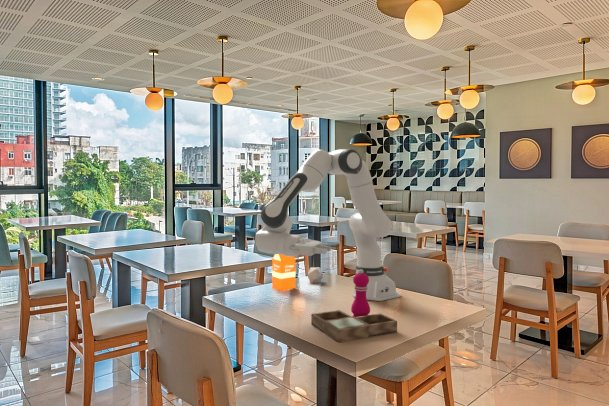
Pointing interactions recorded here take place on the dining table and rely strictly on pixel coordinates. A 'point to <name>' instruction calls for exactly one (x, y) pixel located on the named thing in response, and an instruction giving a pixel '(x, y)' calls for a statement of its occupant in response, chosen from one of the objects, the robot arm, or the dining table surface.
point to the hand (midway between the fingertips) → (328, 250)
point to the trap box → (352, 325)
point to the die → (315, 275)
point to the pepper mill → (360, 295)
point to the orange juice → (283, 272)
